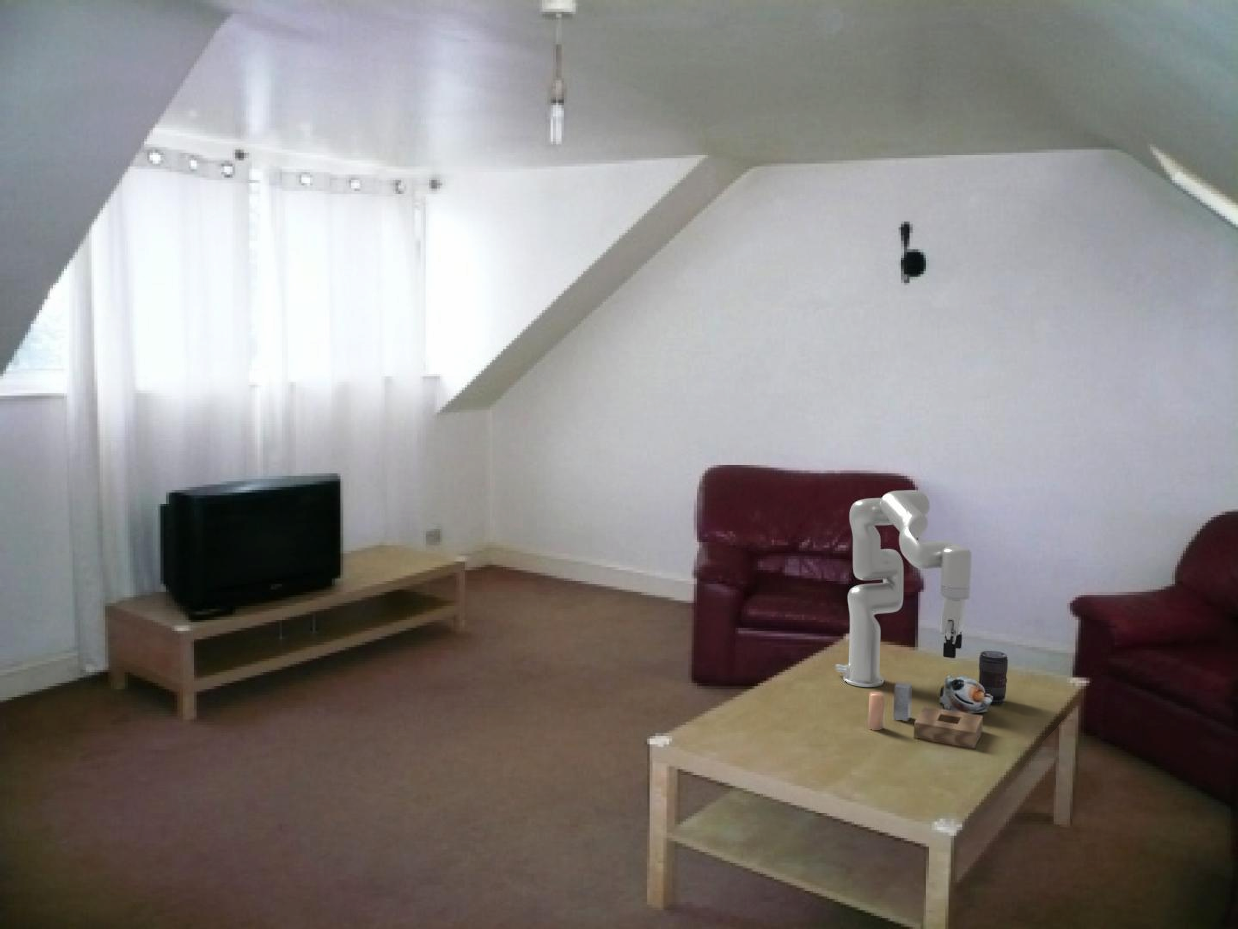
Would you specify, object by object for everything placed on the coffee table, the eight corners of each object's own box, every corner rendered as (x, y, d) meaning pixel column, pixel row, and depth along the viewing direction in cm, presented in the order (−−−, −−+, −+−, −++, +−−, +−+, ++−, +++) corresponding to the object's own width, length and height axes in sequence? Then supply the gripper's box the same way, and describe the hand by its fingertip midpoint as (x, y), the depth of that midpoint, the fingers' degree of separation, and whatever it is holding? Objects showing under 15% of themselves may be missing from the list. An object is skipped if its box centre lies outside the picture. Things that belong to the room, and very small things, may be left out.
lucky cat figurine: (994, 708, 307) (1004, 676, 298) (978, 734, 299) (988, 702, 291) (946, 685, 314) (955, 653, 306) (929, 709, 306) (938, 677, 298)
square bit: (893, 719, 297) (894, 686, 296) (896, 715, 301) (897, 682, 300) (907, 722, 295) (908, 688, 294) (910, 717, 299) (911, 684, 298)
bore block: (913, 738, 284) (914, 722, 283) (923, 721, 296) (924, 706, 296) (974, 749, 277) (975, 732, 276) (982, 731, 289) (982, 715, 288)
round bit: (866, 729, 290) (867, 695, 289) (870, 724, 293) (871, 691, 292) (880, 732, 288) (882, 697, 287) (884, 727, 292) (885, 693, 290)
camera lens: (1001, 697, 316) (1004, 650, 314) (1008, 707, 308) (1011, 658, 306) (974, 696, 317) (976, 649, 315) (980, 706, 309) (983, 657, 307)
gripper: (946, 583, 291) (943, 642, 293) (935, 597, 276) (932, 659, 278) (974, 586, 287) (971, 646, 289) (964, 600, 272) (961, 663, 274)
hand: (952, 652), depth 284 cm, fingers open, 9 cm apart
